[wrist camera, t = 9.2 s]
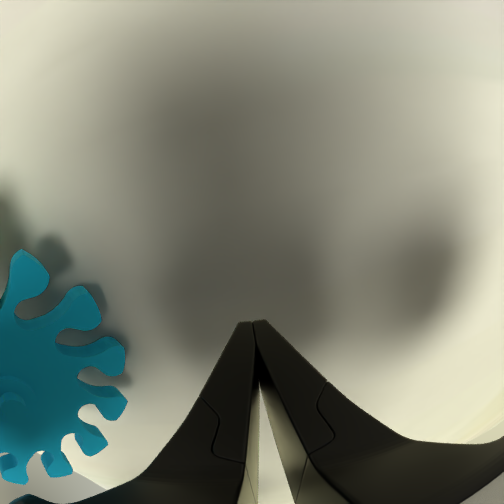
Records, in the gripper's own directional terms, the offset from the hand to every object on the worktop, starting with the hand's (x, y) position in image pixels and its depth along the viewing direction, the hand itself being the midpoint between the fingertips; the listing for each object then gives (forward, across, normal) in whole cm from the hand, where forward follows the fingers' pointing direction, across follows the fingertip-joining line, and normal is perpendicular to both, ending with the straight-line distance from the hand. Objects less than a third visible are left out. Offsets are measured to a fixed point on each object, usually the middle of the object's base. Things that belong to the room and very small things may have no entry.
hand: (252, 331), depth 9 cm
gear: (+1, +8, 0) cm, 9 cm away
